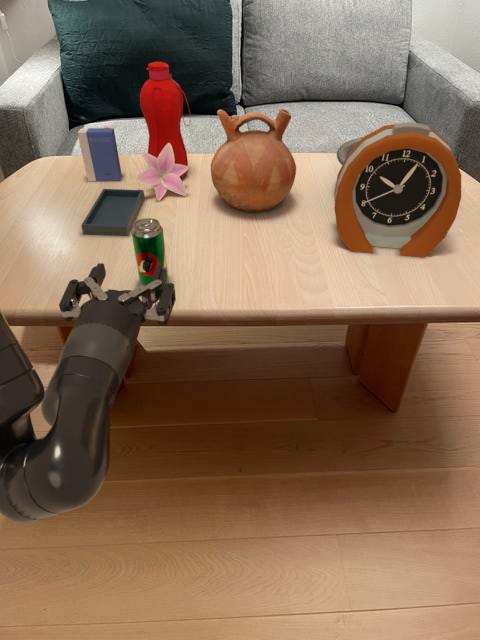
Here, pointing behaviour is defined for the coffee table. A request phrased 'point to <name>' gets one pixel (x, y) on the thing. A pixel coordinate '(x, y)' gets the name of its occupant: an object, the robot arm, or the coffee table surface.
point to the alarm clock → (398, 191)
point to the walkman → (100, 154)
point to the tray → (113, 212)
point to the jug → (253, 163)
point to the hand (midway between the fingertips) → (131, 269)
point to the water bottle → (163, 112)
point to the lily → (163, 173)
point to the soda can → (148, 248)
